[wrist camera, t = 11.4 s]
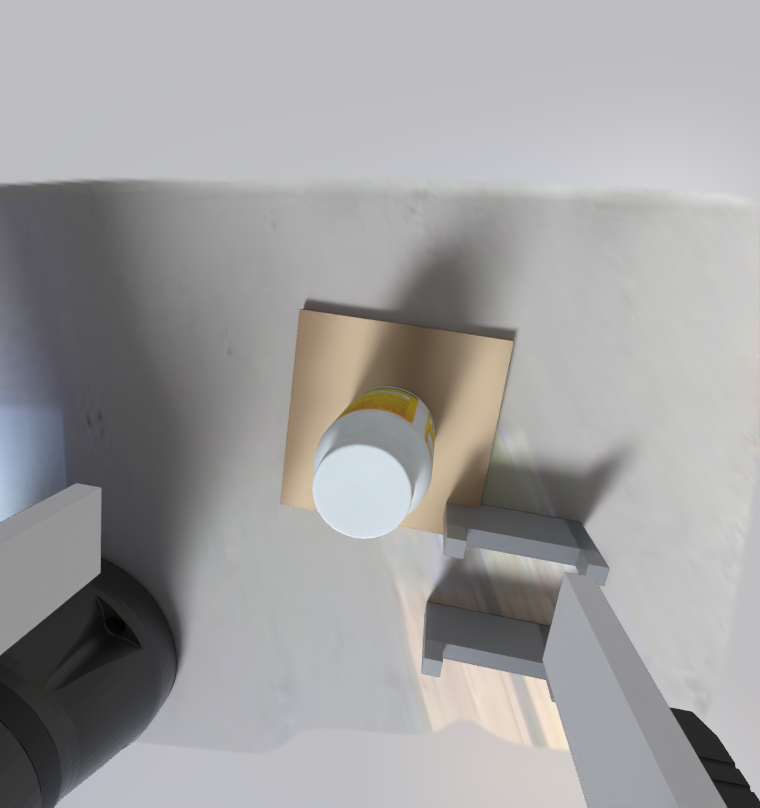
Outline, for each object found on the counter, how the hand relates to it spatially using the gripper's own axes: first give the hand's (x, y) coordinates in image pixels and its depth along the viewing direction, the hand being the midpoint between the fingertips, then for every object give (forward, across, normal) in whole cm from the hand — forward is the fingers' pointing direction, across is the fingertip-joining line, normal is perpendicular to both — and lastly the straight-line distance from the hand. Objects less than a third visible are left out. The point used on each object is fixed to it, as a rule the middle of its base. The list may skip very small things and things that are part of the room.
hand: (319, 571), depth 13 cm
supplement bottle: (+15, +1, 0) cm, 15 cm away
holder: (+16, +9, -8) cm, 20 cm away
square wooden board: (+16, +1, 0) cm, 16 cm away
